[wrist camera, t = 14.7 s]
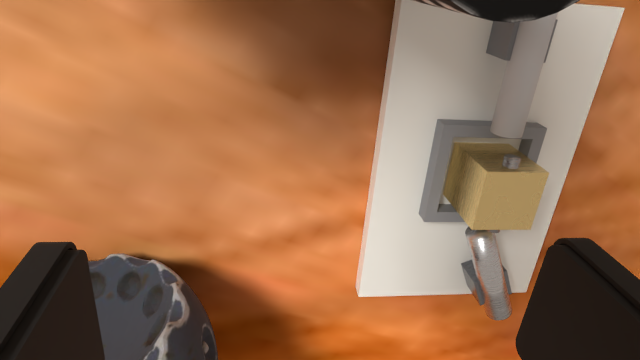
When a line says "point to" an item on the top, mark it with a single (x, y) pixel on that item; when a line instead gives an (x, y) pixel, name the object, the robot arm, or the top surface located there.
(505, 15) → the black white patterned cylinder
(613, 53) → the top surface
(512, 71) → the white fixture base plate
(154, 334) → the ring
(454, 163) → the block
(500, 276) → the angled shaft
